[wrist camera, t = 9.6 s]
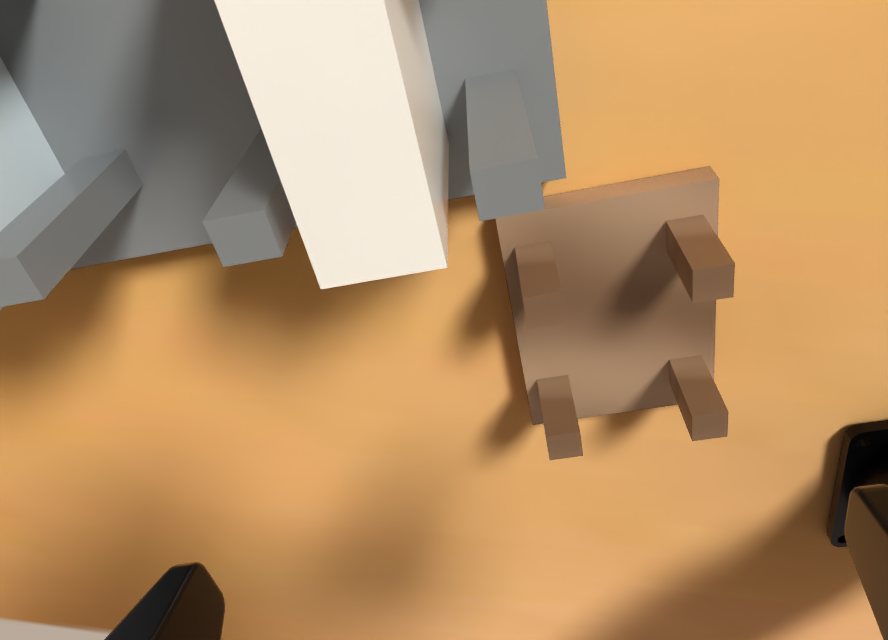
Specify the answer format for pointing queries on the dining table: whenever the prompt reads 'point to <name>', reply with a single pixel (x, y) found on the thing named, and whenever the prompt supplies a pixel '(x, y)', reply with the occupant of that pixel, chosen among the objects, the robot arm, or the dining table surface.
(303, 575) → the dining table surface
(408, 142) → the white rectangular block
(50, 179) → the white long rectangular block
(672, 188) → the stand
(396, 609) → the dining table surface
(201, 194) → the rack
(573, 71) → the dining table surface
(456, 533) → the dining table surface
